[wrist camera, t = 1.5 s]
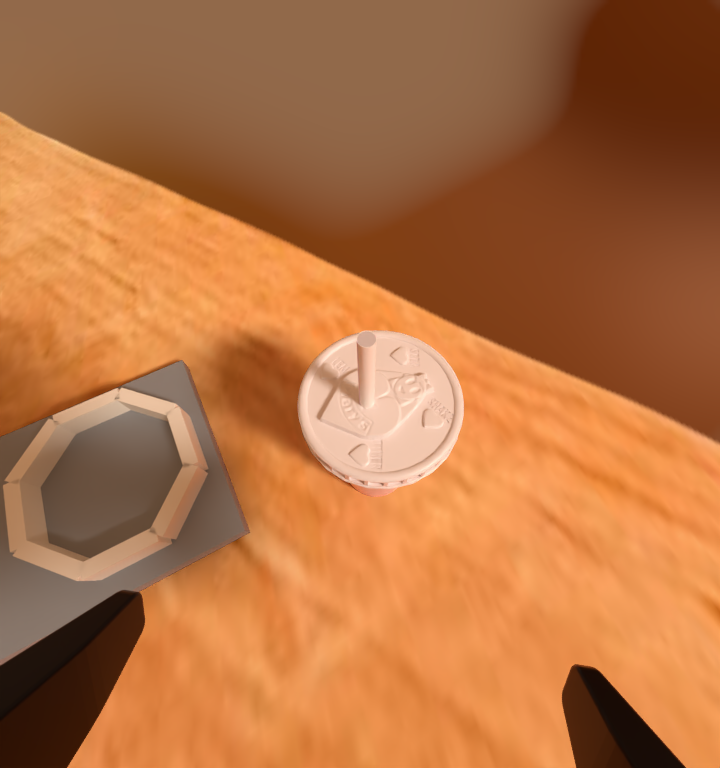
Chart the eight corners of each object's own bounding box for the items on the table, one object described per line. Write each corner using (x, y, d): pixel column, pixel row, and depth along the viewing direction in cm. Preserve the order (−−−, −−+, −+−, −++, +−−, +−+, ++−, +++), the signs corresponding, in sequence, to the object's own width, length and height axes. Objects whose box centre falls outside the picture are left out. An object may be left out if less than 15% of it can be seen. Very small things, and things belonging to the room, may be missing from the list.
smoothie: (309, 435, 24) (246, 281, 12) (403, 402, 25) (440, 226, 12) (343, 538, 21) (308, 483, 9) (447, 496, 22) (551, 393, 10)
